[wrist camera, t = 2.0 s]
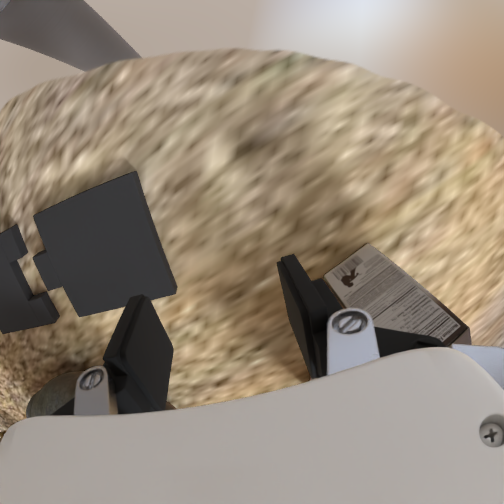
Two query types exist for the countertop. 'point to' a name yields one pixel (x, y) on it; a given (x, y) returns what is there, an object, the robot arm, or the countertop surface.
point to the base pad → (19, 289)
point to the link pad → (103, 248)
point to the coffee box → (393, 297)
